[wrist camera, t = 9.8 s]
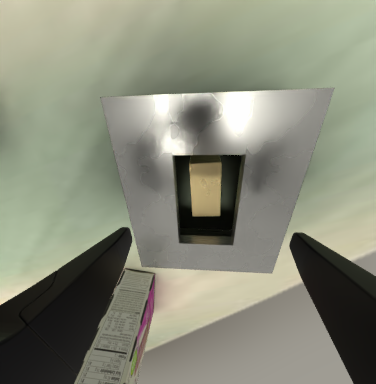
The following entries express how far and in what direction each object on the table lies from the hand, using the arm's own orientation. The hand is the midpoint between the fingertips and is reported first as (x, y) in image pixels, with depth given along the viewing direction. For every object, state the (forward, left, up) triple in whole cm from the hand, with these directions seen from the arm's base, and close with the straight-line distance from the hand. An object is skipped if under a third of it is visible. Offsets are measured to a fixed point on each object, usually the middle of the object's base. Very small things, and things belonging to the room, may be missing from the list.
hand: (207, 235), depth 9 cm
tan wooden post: (0, 0, -8) cm, 8 cm away
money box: (0, 0, -8) cm, 8 cm away
